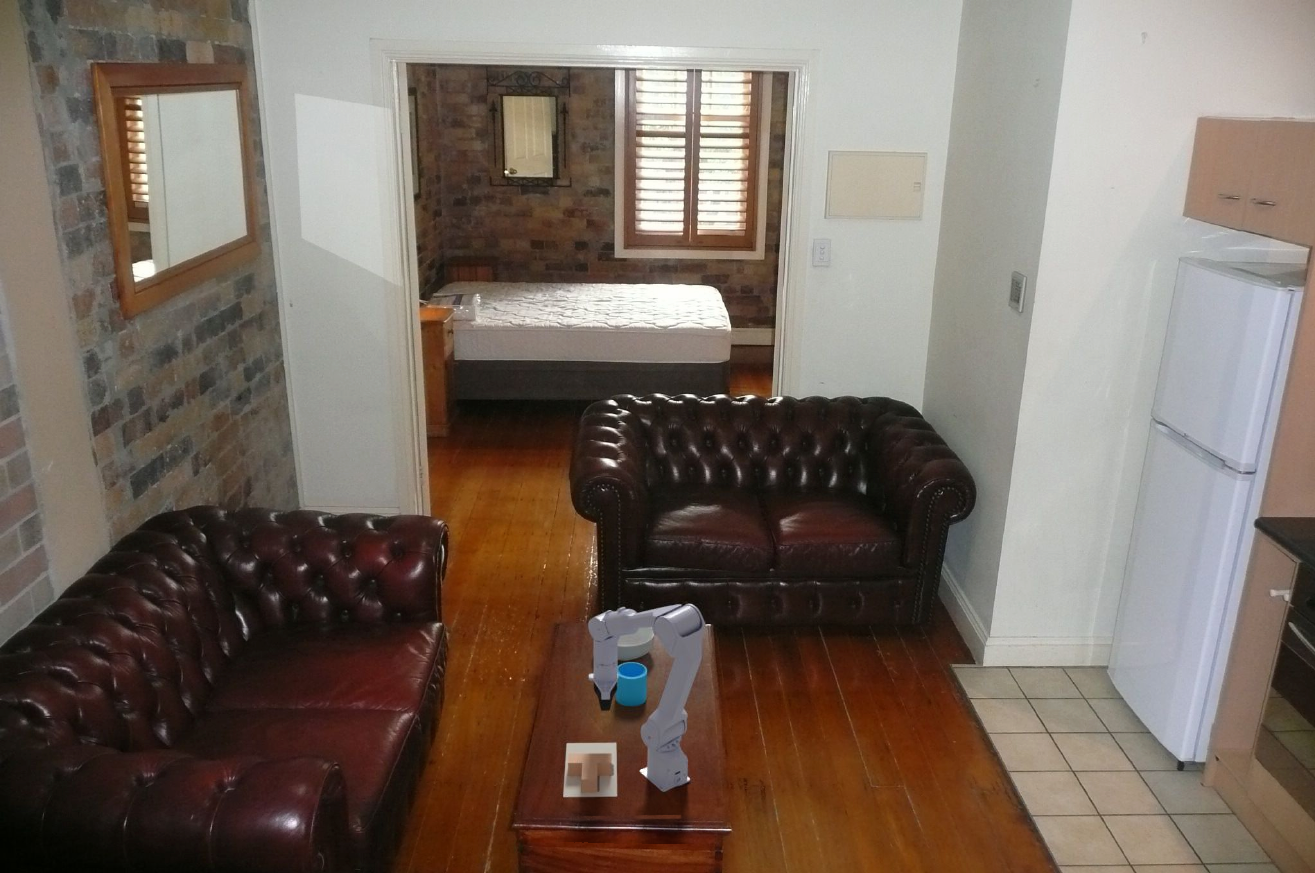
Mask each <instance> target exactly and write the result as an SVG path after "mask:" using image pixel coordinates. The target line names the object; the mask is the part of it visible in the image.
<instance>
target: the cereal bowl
mask: <svg viewBox="0 0 1315 873" xmlns="http://www.w3.org/2000/svg"><path fill="white" fill-rule="evenodd" d="M655 636H656V635H654V633H653V630H652V627H645V628H639V629H638V631H637V632H636V633H634V634H629V635H623V636H620V639H619V640H618V661H624V662H625V661H631V660H635V659H638V658H640V657H643V656H645V655H646V654H647V653H648V652H649V651H651V649H652V648H653V645H654V642H655Z"/></svg>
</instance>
